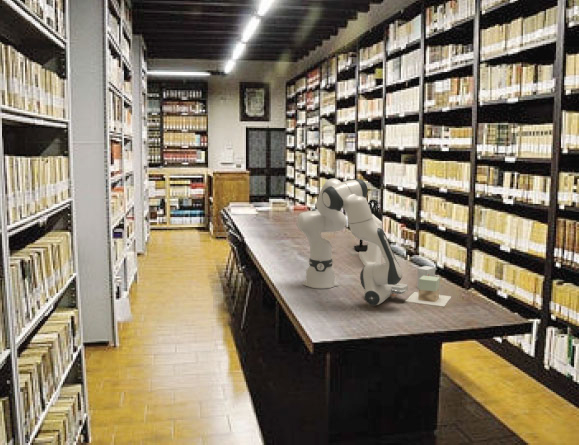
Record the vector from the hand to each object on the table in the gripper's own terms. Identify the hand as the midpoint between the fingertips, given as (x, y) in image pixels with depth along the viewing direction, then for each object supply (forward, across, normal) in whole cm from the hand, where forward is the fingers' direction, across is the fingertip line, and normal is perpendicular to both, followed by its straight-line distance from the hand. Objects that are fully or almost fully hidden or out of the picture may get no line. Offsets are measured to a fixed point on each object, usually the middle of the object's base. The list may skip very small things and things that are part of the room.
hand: (390, 283), depth 273 cm
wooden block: (-1, -19, +5) cm, 20 cm away
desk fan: (+101, +45, +6) cm, 111 cm away
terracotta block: (-1, 0, +6) cm, 6 cm away
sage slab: (-1, -19, 0) cm, 19 cm away
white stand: (+63, +31, +6) cm, 71 cm away
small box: (+20, -13, +6) cm, 25 cm away
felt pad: (-1, -19, +6) cm, 20 cm away
